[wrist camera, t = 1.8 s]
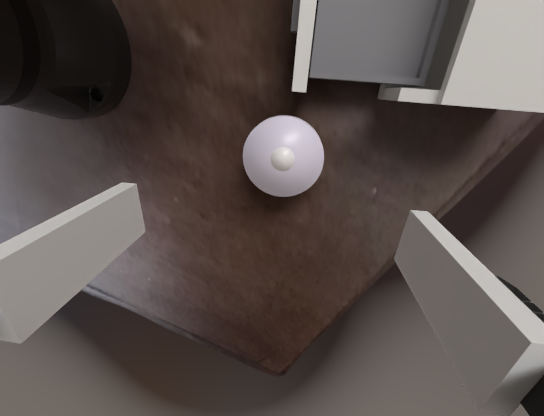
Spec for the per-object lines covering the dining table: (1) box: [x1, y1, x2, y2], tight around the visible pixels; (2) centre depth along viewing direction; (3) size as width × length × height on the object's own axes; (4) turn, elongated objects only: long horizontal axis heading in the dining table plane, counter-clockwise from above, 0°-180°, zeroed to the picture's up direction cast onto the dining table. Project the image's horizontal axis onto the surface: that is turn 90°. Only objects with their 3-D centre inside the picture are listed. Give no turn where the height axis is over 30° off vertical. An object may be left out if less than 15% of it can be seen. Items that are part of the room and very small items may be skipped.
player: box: [377, 0, 544, 113], centre depth 19 cm, size 12×14×7 cm
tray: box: [291, 0, 450, 92], centre depth 20 cm, size 12×14×6 cm
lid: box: [243, 115, 324, 197], centre depth 25 cm, size 8×8×2 cm
